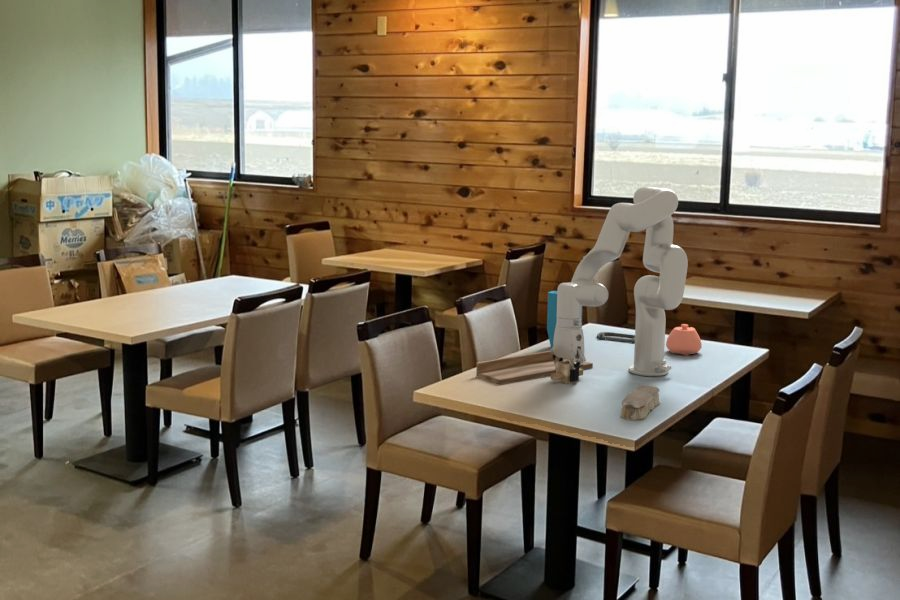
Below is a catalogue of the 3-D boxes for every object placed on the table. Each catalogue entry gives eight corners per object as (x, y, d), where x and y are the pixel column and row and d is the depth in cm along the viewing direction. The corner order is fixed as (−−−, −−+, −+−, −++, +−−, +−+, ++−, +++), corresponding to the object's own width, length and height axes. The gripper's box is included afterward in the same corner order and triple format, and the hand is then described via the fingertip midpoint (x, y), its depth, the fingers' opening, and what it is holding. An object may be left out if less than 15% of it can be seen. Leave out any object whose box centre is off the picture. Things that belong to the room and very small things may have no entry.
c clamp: (654, 340, 369) (654, 333, 368) (637, 349, 354) (638, 341, 354) (604, 334, 379) (604, 327, 379) (586, 342, 365) (586, 334, 364)
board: (592, 367, 323) (593, 354, 323) (499, 384, 301) (499, 370, 300) (568, 360, 333) (568, 347, 332) (476, 376, 311) (476, 362, 310)
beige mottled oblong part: (644, 423, 264) (644, 405, 263) (617, 420, 267) (617, 402, 266) (662, 401, 286) (663, 384, 285) (637, 398, 289) (638, 382, 288)
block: (545, 347, 353) (547, 292, 349) (551, 344, 357) (553, 290, 354) (576, 351, 347) (578, 295, 343) (581, 348, 351) (583, 293, 347)
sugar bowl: (659, 352, 346) (660, 324, 344) (678, 346, 356) (680, 319, 355) (690, 358, 338) (691, 329, 336) (709, 351, 348) (711, 323, 347)
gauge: (586, 380, 308) (587, 359, 307) (557, 385, 301) (558, 364, 300) (575, 376, 312) (576, 356, 311) (547, 382, 305) (547, 361, 304)
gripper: (596, 326, 298) (594, 383, 302) (559, 316, 312) (557, 371, 315) (578, 328, 294) (576, 386, 297) (541, 319, 308) (539, 374, 311)
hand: (566, 378), depth 306 cm, fingers open, 6 cm apart
